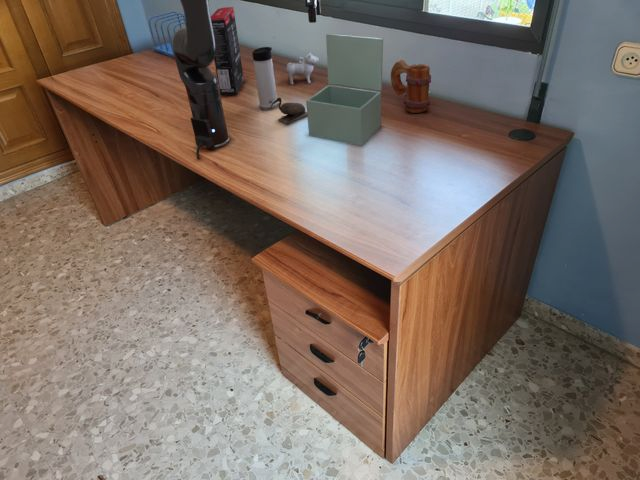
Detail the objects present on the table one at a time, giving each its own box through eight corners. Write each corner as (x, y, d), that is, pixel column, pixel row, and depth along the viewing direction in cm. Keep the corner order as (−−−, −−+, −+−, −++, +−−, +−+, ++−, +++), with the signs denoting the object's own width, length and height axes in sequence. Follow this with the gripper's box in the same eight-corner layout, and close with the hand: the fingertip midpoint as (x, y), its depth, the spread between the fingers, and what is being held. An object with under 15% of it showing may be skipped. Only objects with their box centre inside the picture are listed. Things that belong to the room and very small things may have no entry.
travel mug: (276, 110, 164) (268, 50, 152) (257, 110, 166) (248, 51, 153) (280, 103, 169) (273, 45, 157) (263, 103, 171) (254, 45, 158)
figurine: (276, 129, 152) (273, 103, 147) (268, 125, 155) (264, 99, 150) (309, 115, 159) (307, 90, 154) (301, 112, 162) (298, 87, 157)
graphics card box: (228, 81, 191) (215, 7, 175) (245, 80, 191) (233, 6, 174) (220, 97, 178) (205, 19, 161) (238, 96, 177) (225, 17, 161)
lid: (382, 39, 133) (390, 34, 136) (326, 34, 140) (335, 29, 144) (380, 91, 141) (388, 85, 145) (328, 83, 149) (336, 78, 153)
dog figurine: (320, 82, 184) (319, 53, 177) (287, 85, 183) (284, 56, 177) (319, 77, 188) (317, 49, 181) (287, 80, 187) (284, 52, 181)
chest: (361, 145, 140) (360, 109, 133) (309, 135, 147) (305, 100, 140) (380, 127, 149) (381, 92, 142) (330, 118, 156) (328, 84, 150)
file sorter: (154, 51, 232) (144, 17, 223) (184, 42, 241) (177, 9, 232) (180, 60, 217) (172, 25, 208) (212, 50, 226) (205, 16, 217)
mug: (435, 109, 156) (439, 62, 147) (421, 117, 152) (424, 70, 143) (398, 99, 165) (400, 55, 156) (384, 107, 160) (385, 62, 151)
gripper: (301, -49, 134) (305, 13, 144) (292, -42, 123) (298, 25, 133) (327, -51, 133) (330, 12, 143) (321, -43, 122) (324, 24, 132)
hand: (314, 18), depth 138 cm, fingers open, 8 cm apart
